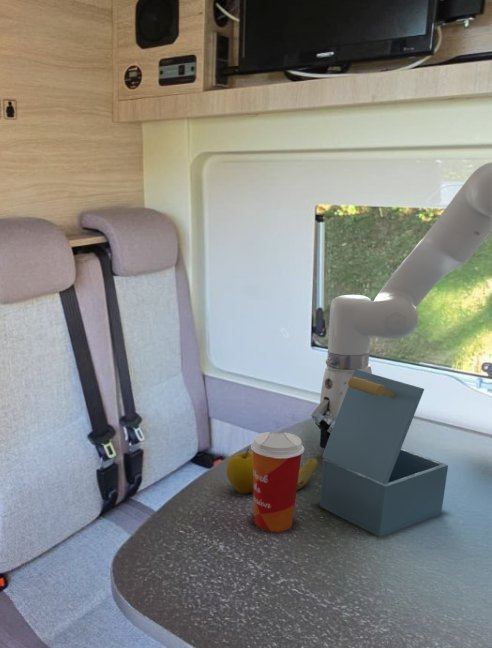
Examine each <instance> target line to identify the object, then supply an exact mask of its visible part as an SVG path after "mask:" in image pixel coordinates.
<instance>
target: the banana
mask: <svg viewBox="0 0 492 648" xmlns="http://www.w3.org/2000/svg"><path fill="white" fill-rule="evenodd" d="M317 468H318V459H317V458H315V457H313V458H309V459H307V460H306V461H305V463H303V464H302V466H301V467H300V470H299V477H298V485H297V491H298V490H300V489H302V488H304V487H305V486H306V485H307V483H308V482H309V481H310V479H311V478H312V476H313V475H314V474H315V472H316V471H317Z"/></svg>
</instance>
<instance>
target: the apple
mask: <svg viewBox="0 0 492 648" xmlns="http://www.w3.org/2000/svg"><path fill="white" fill-rule="evenodd" d="M226 476H227V479H228V481H229V483H230V484H231V485H232V486H233V488H234V489H235V490H236V491H237V492H238V493H239V494H240V495H247V494H251V493H254V483H253V452H252V451H251V452H250V448H249V447H248V448H247V450H246V451H245V452H240V453H236V454H234V455H232V456H231V457H230V458H229V460H228V462H227V464H226Z"/></svg>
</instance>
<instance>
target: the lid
mask: <svg viewBox="0 0 492 648" xmlns="http://www.w3.org/2000/svg"><path fill="white" fill-rule="evenodd" d="M424 391H425V388H423V387H419V386H416V385H414V384H410V383H405V382H402V381H398V380H395V379H391V378H388V377H384V376H380V375H379V374H375V373H374V374H373V373H372V374H371V373H367V372H363V371H360V370H356V369H355V370H354V373H353V376H352V377H351V378H350V379H349V382H348V389H347V392H346V394H345V397H344V400H343V402H342V405H341V408H340V410H339V413H338V416H337V418H336V421H335V424H334V426H333V429H332V431H331V434H330V437H329V439H328V442H327V445H326V447H325V448H324V450H323V454H322V455H321V457H322V458H323V459H324V460H325V459H328V460H330V461H332V462H335V463H337V464H339V465H342V466H344V467H346V468H348V469H351V470H353V471H355V472H358V473H360V474H362V475H365V476H367V477H369V478H371V479H374V480H376V481H378V482H381V483H383V484H387V483H388V480H389V478H390V475H391V473H392V470H393V468H394V465H395V463H396V460H397V458H398V455H399V452H400V450H401V448H403V445H404V442H405V439H406V437H407V434H408V432H409V429H410V426H411V424H412V422H413V419H414V418H415V414H416V411H417V409H418V406H419V404H420V401H421V399H422V397H423V394H424Z"/></svg>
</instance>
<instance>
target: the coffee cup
mask: <svg viewBox="0 0 492 648" xmlns="http://www.w3.org/2000/svg"><path fill="white" fill-rule="evenodd" d="M250 449H251V450H252V453H253V483H254V491H253V514H254V516H253V517H254V525H256V526H257V527H258V528H260V529H262V530H263V531H267V532H276V533H277V532H284V531H287V530H290V529H291V527H292V525H293V520H294V514H295V507H296V499H297V492H298V490H297V485H298V477H299V470H300V469H301V462H302V461H301V460H302V455H303V453H304V452H305V447H304V445H303V441H302V439H301V438H300V436H298V435H296V434H293V433H289V432H285V431H284V432H283V433H281V432H280V431H272V432H270V431H266V432H265V431H264V432H261V433H258V434H256V435H255V436H254V438H253V441H252V443H251V444H250Z"/></svg>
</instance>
